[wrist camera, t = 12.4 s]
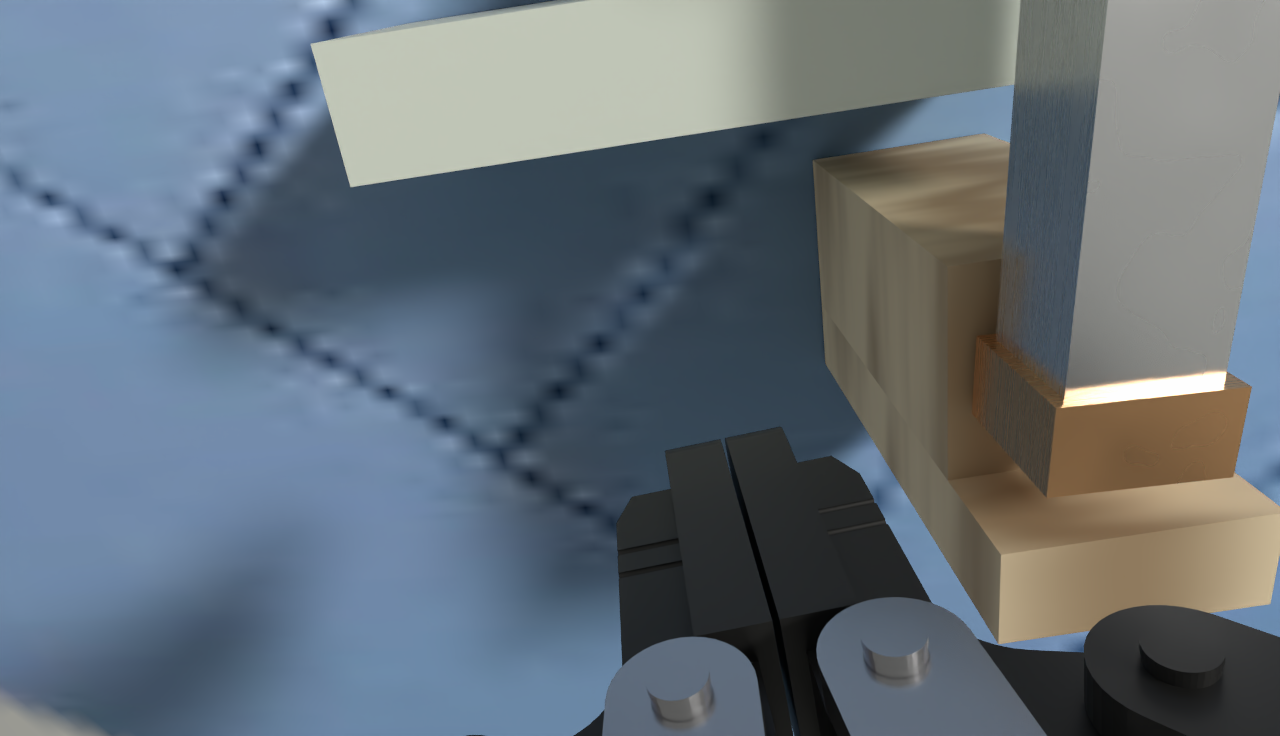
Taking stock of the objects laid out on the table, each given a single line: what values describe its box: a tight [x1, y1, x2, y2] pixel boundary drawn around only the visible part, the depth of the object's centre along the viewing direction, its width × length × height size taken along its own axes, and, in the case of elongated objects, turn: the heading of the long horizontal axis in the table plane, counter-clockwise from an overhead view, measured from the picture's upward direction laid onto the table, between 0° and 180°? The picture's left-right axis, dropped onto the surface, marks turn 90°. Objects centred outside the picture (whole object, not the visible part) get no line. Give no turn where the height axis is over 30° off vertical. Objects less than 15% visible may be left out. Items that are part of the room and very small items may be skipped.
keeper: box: [813, 134, 1280, 644], centre depth 21 cm, size 5×6×13 cm
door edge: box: [311, 0, 1020, 187], centre depth 20 cm, size 16×2×9 cm, turn 98°
